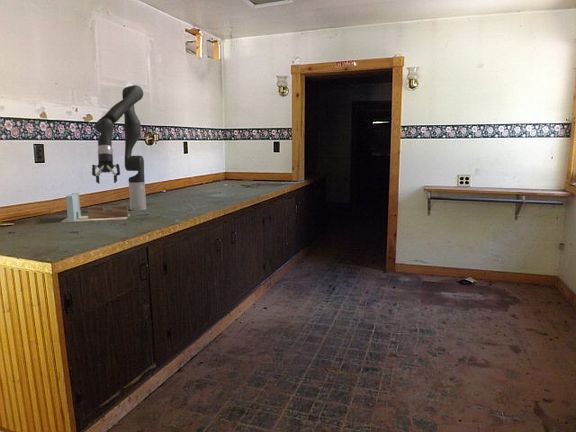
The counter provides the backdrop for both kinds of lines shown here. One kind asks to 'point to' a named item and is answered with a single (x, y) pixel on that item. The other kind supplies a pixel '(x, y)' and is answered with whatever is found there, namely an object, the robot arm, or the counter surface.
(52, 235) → the counter surface
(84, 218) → the birch board
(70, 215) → the slotted cross plate
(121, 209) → the walnut slotted plate
